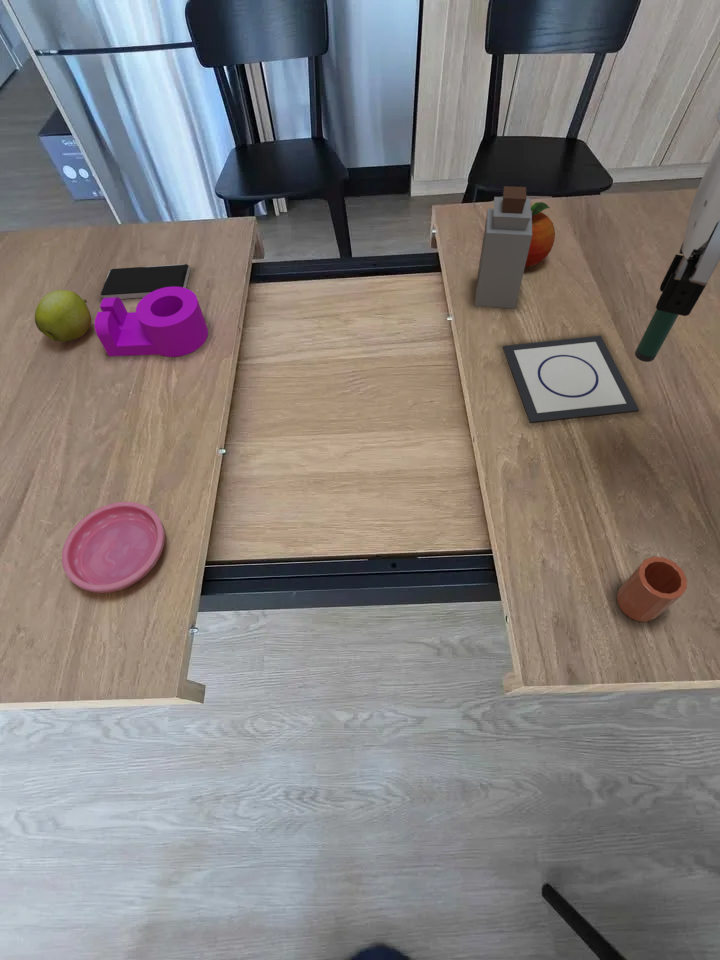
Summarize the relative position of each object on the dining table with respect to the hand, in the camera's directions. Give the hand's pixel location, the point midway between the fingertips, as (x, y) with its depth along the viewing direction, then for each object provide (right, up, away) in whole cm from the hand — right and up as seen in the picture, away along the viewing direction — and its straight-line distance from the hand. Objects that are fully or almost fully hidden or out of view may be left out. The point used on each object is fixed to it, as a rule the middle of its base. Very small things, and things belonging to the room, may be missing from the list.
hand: (673, 300), depth 57 cm
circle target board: (-1, -3, +28) cm, 28 cm away
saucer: (-63, -28, +14) cm, 70 cm away
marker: (0, -4, +6) cm, 8 cm away
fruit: (-3, +22, +45) cm, 50 cm away
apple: (-81, +7, +39) cm, 90 cm away
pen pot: (0, -33, +8) cm, 34 cm away
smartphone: (-72, +18, +46) cm, 87 cm away
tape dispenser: (-66, +6, +37) cm, 76 cm away
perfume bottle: (-9, +14, +40) cm, 43 cm away
